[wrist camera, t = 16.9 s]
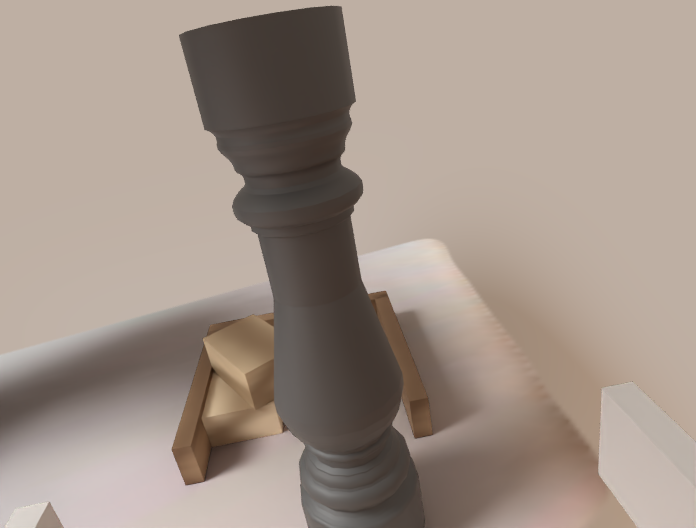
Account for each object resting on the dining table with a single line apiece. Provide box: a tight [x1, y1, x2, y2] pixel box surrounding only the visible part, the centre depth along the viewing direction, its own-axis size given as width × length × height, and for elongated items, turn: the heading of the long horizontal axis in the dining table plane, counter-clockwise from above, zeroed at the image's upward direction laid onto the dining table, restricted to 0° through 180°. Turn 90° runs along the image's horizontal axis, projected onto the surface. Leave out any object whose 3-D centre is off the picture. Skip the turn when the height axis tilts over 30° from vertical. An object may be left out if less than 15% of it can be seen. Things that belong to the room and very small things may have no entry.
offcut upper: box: [203, 314, 274, 410], centre depth 37 cm, size 4×7×3 cm, turn 39°
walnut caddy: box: [172, 291, 433, 485], centre depth 39 cm, size 16×16×3 cm
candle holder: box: [179, 6, 425, 528], centre depth 22 cm, size 6×6×25 cm
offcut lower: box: [202, 371, 283, 447], centre depth 38 cm, size 5×8×3 cm, turn 6°
